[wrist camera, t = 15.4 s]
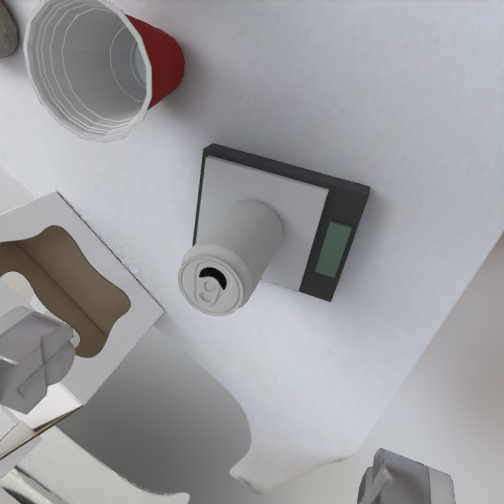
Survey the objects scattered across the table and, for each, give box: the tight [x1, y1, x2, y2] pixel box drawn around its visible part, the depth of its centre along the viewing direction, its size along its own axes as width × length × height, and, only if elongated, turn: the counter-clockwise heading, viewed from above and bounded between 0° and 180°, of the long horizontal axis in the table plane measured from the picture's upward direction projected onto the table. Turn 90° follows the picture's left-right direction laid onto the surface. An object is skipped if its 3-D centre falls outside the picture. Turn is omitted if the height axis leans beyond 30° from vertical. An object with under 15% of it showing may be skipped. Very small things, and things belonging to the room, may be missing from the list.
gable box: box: [0, 191, 164, 480], centre depth 46 cm, size 22×13×28 cm, turn 41°
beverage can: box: [178, 201, 283, 316], centre depth 37 cm, size 6×6×12 cm
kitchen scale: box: [192, 144, 370, 302], centre depth 43 cm, size 17×13×3 cm
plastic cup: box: [23, 0, 185, 143], centre depth 35 cm, size 11×11×12 cm
